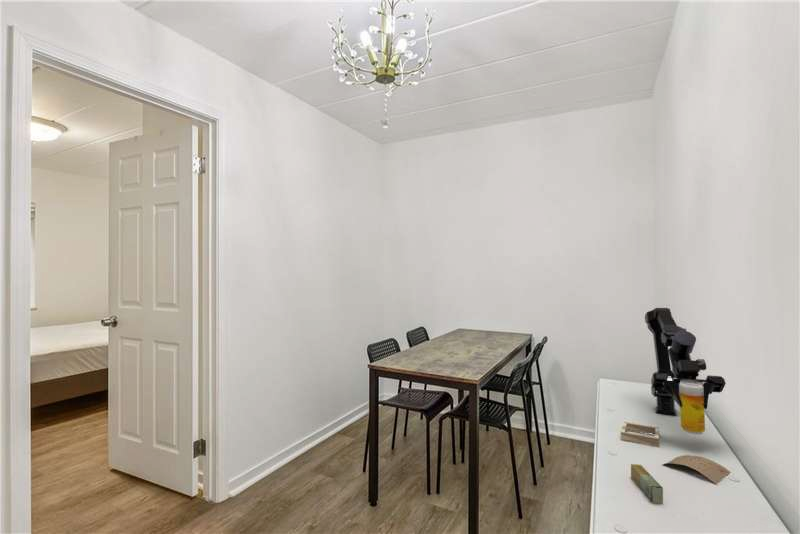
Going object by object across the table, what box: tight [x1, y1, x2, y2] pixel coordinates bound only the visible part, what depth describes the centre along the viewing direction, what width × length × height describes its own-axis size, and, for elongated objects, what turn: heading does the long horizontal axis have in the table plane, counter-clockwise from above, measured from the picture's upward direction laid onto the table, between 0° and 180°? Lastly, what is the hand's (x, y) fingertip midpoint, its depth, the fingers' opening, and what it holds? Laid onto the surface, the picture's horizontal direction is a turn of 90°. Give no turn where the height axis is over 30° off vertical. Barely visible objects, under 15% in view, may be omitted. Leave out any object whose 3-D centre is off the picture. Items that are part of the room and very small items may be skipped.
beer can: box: [679, 380, 706, 435], centre depth 121 cm, size 6×6×15 cm
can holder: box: [620, 421, 660, 447], centre depth 130 cm, size 10×10×2 cm
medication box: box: [630, 463, 664, 505], centre depth 100 cm, size 12×3×4 cm, turn 172°
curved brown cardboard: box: [665, 454, 732, 485], centre depth 109 cm, size 14×10×3 cm
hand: (693, 407), depth 120 cm, fingers closed on beer can, 6 cm apart
